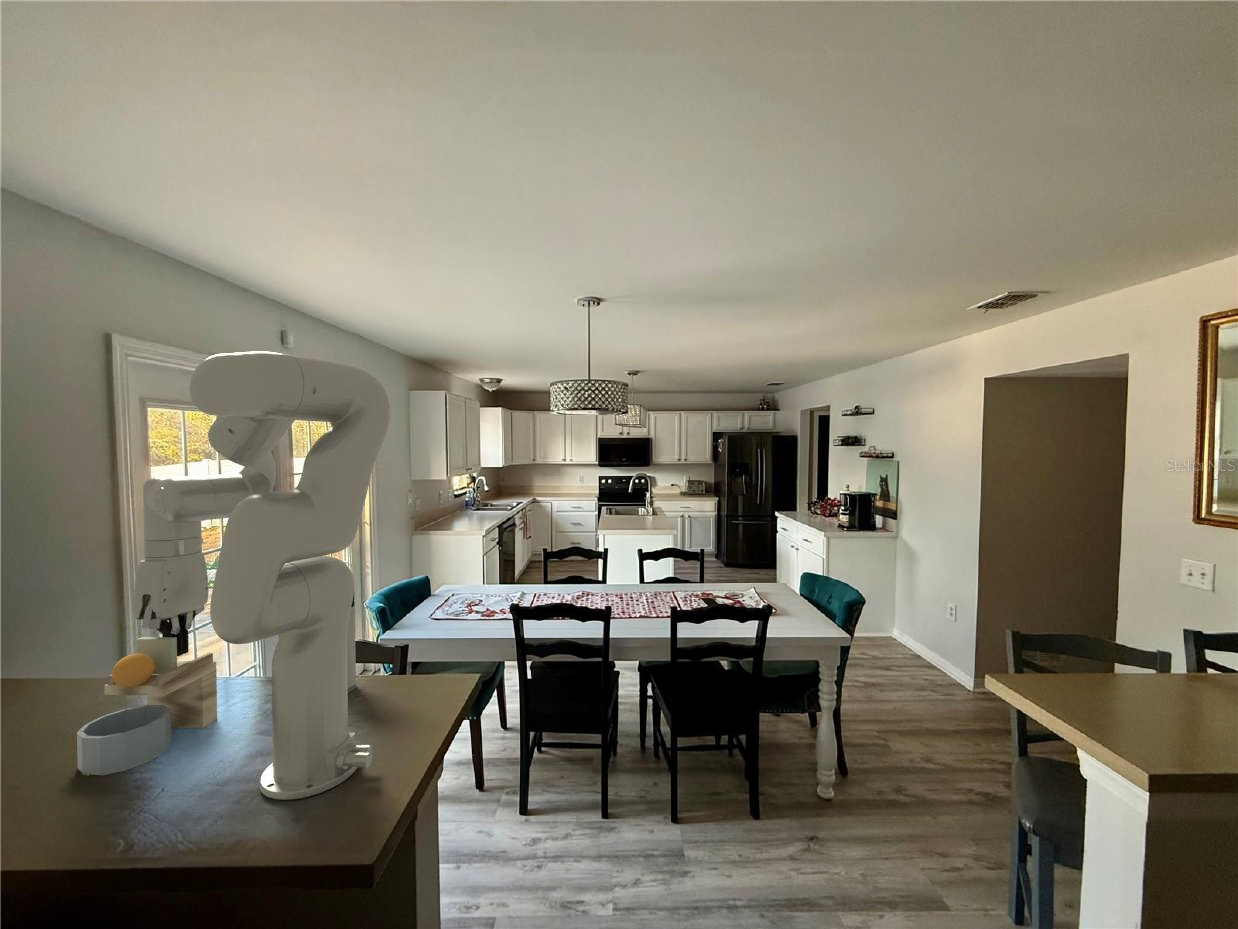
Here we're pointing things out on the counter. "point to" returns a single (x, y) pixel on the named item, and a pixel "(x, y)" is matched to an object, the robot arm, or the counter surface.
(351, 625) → the travel mug
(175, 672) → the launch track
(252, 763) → the counter surface
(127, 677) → the ball
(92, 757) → the gray oval basket
